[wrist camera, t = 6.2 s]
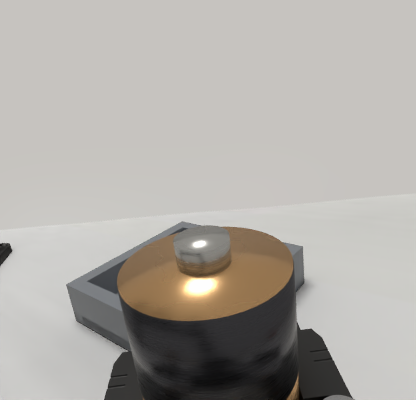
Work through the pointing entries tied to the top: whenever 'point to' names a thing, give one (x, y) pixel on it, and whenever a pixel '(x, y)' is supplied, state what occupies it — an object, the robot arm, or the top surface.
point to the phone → (4, 251)
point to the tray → (109, 298)
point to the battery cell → (212, 316)
